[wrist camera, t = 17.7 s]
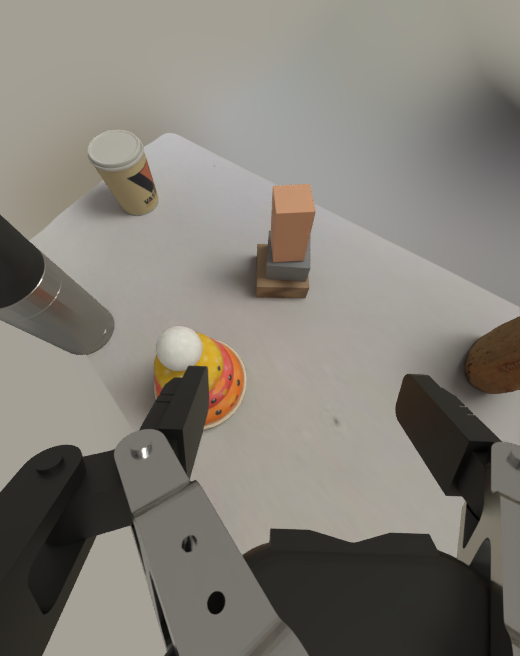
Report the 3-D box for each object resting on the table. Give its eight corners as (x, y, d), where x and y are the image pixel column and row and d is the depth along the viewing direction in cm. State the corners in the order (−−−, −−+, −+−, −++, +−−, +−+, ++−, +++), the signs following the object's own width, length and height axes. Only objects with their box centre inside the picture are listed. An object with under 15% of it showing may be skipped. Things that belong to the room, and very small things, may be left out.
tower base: (256, 298, 51) (256, 286, 48) (257, 257, 55) (257, 244, 51) (305, 298, 51) (309, 287, 48) (302, 258, 55) (306, 244, 51)
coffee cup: (157, 220, 57) (133, 167, 46) (112, 216, 57) (77, 163, 46) (166, 187, 61) (146, 130, 50) (124, 183, 61) (94, 126, 50)
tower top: (265, 278, 48) (266, 265, 45) (267, 245, 51) (268, 230, 47) (305, 281, 48) (310, 268, 44) (306, 248, 51) (310, 233, 47)
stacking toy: (207, 450, 41) (169, 459, 23) (139, 391, 44) (59, 358, 26) (264, 375, 46) (270, 333, 28) (199, 326, 49) (166, 259, 31)
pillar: (273, 262, 44) (276, 213, 35) (270, 238, 47) (272, 185, 37) (304, 260, 45) (315, 211, 35) (300, 236, 47) (309, 184, 38)
